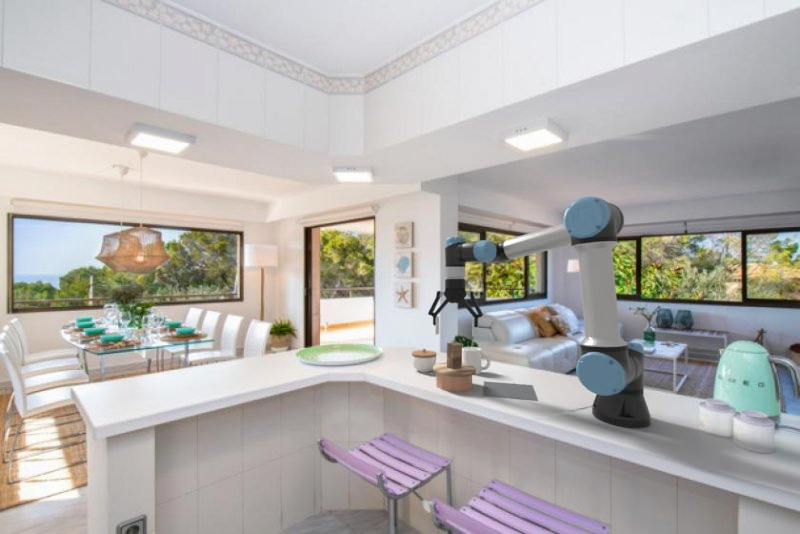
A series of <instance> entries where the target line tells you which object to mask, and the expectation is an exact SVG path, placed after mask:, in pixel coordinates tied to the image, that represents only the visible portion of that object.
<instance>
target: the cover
mask: <svg viewBox="0 0 800 534" xmlns="http://www.w3.org/2000/svg"><path fill="white" fill-rule="evenodd" d="M462 348H463V344H462V343H459V342H456V341H454V342H447V343H446V362H439V363H435V365H434V366H433V369H432V372H434V373H435V374H436V373H437V374H440V375H444V376H451V377H466V376H471V375H472V376H474V375H476V374H475V373H476V368H475V367H473V366H471V365H468V364H463V363H462Z"/></svg>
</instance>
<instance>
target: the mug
mask: <svg viewBox="0 0 800 534" xmlns="http://www.w3.org/2000/svg"><path fill="white" fill-rule="evenodd" d="M482 357H484V358H485V359H486V365H485V366H482ZM462 363H463V364H468V365H471V366H473V367H475V368H476V373H475V374H474V375H479V374H481V373H482V371H486V370H487V369H489V368H490V366H491V358H490V357H489V355H488V354H487V353H485V352H482V348H480V347H476V346H464V347H463V346H462Z"/></svg>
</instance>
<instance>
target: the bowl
mask: <svg viewBox="0 0 800 534" xmlns="http://www.w3.org/2000/svg"><path fill="white" fill-rule="evenodd" d="M435 374H436V376H435V382H436V383H435V386H436V387H437V388H439V389H440V390H442V391H443V390H444V391H448V392H464V391H465V392H466V391H469V390H471V389H472V388H473V375H471V376H466V377H451V376H444V375H440V374H437V373H435Z"/></svg>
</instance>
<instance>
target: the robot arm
mask: <svg viewBox="0 0 800 534" xmlns="http://www.w3.org/2000/svg"><path fill="white" fill-rule="evenodd" d="M562 222H563V223H560V224H556V225H554V226H553V225H552V226H549V227H546V228H543V229H538V230H537V231H532V232H529V233H525V234H523V235H519V236H515V237H512V238H509V239H505V240H502V241H498V242H493V241H492V240H490V239H489V240H487V239H486V240H484V239H480V240H475V241H466V238H465V237H463V236H450V237H447V238H446V239H445V245H444V246H445V248H444V254H445V255H444V257H445V260H444V261H445V267H444V277H445V278H446V279H445V280H444V284H445V285H444V291H441V290H437V291H436V296H435V299H434V300H433V303H432V304H431V306H430V308H429V310H428V313H427V315H429V316H431V317H432V325H433V326H435V335H437V336H438V335H439V334H440V316H438V315H439V314H440V313H441V311H443V309H444V308H445V307H446V306H447V304H449V303H450V304H462V305H463V307H465V308H466V310H467V311H468V312H469V313H470V314H471V315H472V319H471V337H472V338H473V337H475V336H476V328H478V327H479V318H482V317H483V315H484V314H483V311H482V309H481V308H480V306H479V303H478V301H477V300H476V298H475V297H476V296H475V292H474V290H472V291H466V279H465V278H466V263H488V264H489V263H491V264H493V263H494V264H505V263H507V262H509V261H511V260H514V259H518V258H522V257H527V256H532V255H534V254H538V253H539V254H540V253H543V252H546V251H551V250H556V249H559V248H563V247H568V246H571V248H572V249H573V250H574V251H575V252H577V257H578V258H577V259H578V268H579V269H578V270H579V280H580V281H579V282H580V291H581V304H582V314H583V325H584V338H583V339H582V340H581V341H580V343H579V346H580V358H579V359H578V361H577V364H576V367H575V371H576V377H577V378H578V380H579V382H580V383H581V385H582V386H583V387H585V389H587V391H589V392H591V393H593V394H595V398H594V400H593V403H592V405H591V408H592V409H591V410H592V412H591V413H592V414H591V415H593V416H594V417H595V418H597V419H598V420H600V421H603V422H604V423H608V424H610V425H616V426H620V427H623V428H624V427H625V428H636V429H638V428H646V427H649V426H651V421H652V420H651V419H652V418H651V417H652V416H651V413H650V411H649V407H648V405H647V401H646V399H645V398H646V397H645V395H644V394H645V393H644V390H645V389H644V387H645V386H644V385H645V370H644V369H645V356H646V354H645V350H644V346H643V345H642V344H641V343H638V342H630V341H625V340H624V339H623V338H622V337H621V331H620V330H621V329H620V320H619V309H618V301H617V300H618V299H617V289H616V288H617V287H616V280H615V269H614V268H615V267H614V258H613V250H614V248H615V247H616V245H618V235H619V234H620V233H621V232H622V230H623V228H624V225H625V215H624V214H623V211H622V210H621V208H619V206H617V205H616V204H613V203H611V202H608V201H606V200H604V199H603V198H601V197H597V196H584V197H580V198H578V199H576V200H574V201H573V202H572V203H570V205H569V206H568V207H566V210H565V212H564V214H563V221H562ZM443 296H444V298H445V299H444V301H443V302H442V303H441V305H439V307H438V308H437V305H438V303H439V301H440V300H441V298H442V297H443ZM466 297H468V298H470V301H471V303H472V305H473V307H474V308H475V310H474V309H473V307H472V306H470V304H469V303H468V302H467V300H466V299H465V298H466ZM436 308H437V309H436ZM435 309H436V310H435ZM434 311H435V312H434Z"/></svg>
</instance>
